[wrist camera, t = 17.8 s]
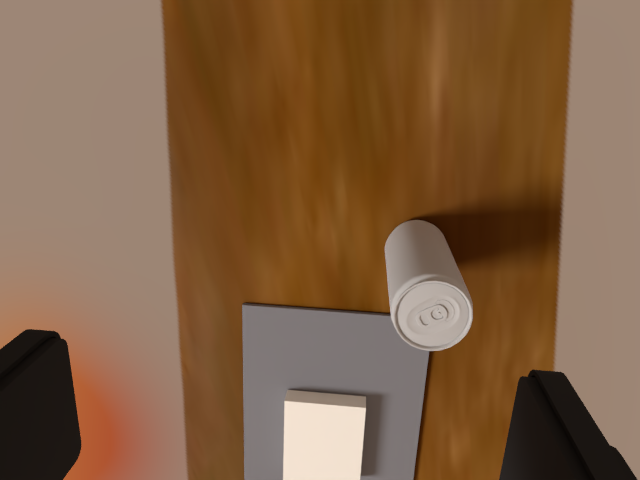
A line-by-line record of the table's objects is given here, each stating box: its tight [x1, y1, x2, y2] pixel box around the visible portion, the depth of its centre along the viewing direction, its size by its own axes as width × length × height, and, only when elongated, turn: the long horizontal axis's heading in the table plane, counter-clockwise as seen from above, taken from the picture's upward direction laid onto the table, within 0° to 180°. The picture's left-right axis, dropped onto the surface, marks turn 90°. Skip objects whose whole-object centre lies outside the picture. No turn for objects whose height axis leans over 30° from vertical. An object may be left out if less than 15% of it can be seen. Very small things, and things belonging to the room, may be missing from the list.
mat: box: [242, 303, 429, 480], centre depth 46 cm, size 20×16×1 cm
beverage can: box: [385, 220, 473, 351], centre depth 35 cm, size 5×5×12 cm
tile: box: [283, 390, 366, 480], centre depth 46 cm, size 2×7×9 cm
